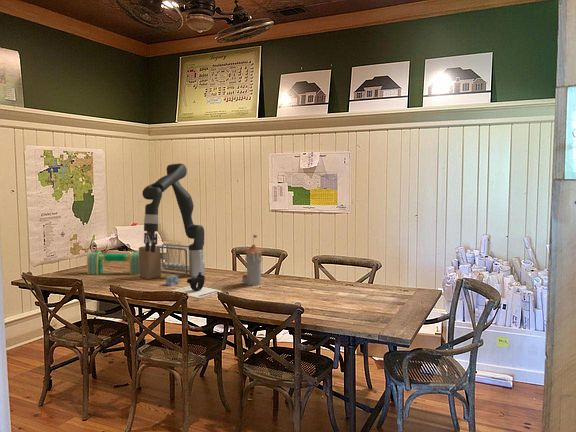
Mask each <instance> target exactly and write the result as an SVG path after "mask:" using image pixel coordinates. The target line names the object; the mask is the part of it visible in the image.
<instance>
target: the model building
mask: <svg viewBox="0 0 576 432" xmlns="http://www.w3.org/2000/svg"><path fill="white" fill-rule="evenodd" d="M257 237H258V235H256V234H253V242H252V243H253V244H252V246H250V247H249V249H247V250H246V251H245V262H246V274H243V275H242V285H247V284H248V286H253V285H254V286H260V285H261V284H262V261H263V256H262V253H263V251H262V250H260V249H259V248H258V247H257V246H256V244H254V243H255V242H254V240H255V239H257Z"/></svg>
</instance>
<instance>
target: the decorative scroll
mask: <svg viewBox="0 0 576 432" xmlns="http://www.w3.org/2000/svg"><path fill="white" fill-rule="evenodd" d="M126 261H129V274H130V275H131V276H132V275H139V274H140V269H139V251H138V252H135V251H131V252H130V254H127V253H105V254H103V252H102V251H97V252H95V251H94V252H93V251H91V250H89V251H88V252H87V255H86V266H87V267H86V268H87V269H86V270H87V275H88V274H89V275H100V274H102V273H104V262H126Z"/></svg>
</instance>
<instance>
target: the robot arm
mask: <svg viewBox="0 0 576 432" xmlns="http://www.w3.org/2000/svg"><path fill="white" fill-rule="evenodd" d="M187 172H188V168H187V167H186V165H185V164H184V163H180V162H179V163H172V164H168V165H167V166H166V174H165V175H164V176H162V177H160V178H159V179H157V180H156V181H155V182H153V183H151V184H148V185H146V186H145V187H144V189H142V194H141V195H142V197H143V198H144V199H145V200H149V201H150V200H151V203H147V204H146V205H145V210H144V219H143V231H144V233H143V234H144V235H143V236H144V237H143V244H144V245H145V251H149V250H150V245H151V252H155V246H158V233H156V232H158V231H159V207H160V204H161V200H162V198H163V193H164V192H165V191H166V190H167V189H168V188H169V187H172V190H173V192H174V195H175V200H176V202H177V205H178V209H179V212H180V215H181V218H182V222H183V227H184V232H185V235H186V237H187V238H188V239H190V240H191V239H192V240H193V243H191V244H189V245H188V246H189V249H188V270H189V272H188V274H189V277H191V278H193V277H195V276H198V275H199V273H198V272H202V273H201V274H202V275H203V276H205V275H206V273H205V271H206V270H205V269H206V266H205V265H206V264H205V259H204V246H205V228H204V226H202V225H199V224H195V223H194V222H193V217H192V215H193V211H194V207H195V206H194V201H193V198H192V195H190V192H189V191H187V190H186V189H185V188H184V186H182V184H181V183H180V180H182V179H183V178H185V177H186V176H187Z"/></svg>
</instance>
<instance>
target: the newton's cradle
mask: <svg viewBox="0 0 576 432" xmlns="http://www.w3.org/2000/svg"><path fill="white" fill-rule="evenodd" d="M157 246H159V247H160V249H161V273H163V274H164V273H166V274H173V275H182V276H186V275H188V274H189V269H188V250H189V245H180V244H172V243H171V244H168V243H163V244H159V245H158V244H157ZM164 249H166V253H164V252H165V251H164ZM168 250H170V251H173V250H179V252H182V251H184V253H183V255H184V260H182V261H181V262H182V263H180V262H177V263H175V262H176V261H175V259H172V261H173V263H172V262H171V258H172V257H173V256H174V255H177V251H174V252H175V254H174V255H173V253H171V257H170V258H169V255H168ZM165 254H166V255H165ZM164 255H165V256H167V257H168V258H167V259H169V261H168V262H167V261H166V258H164ZM180 256H181V258H182V255H179V257H176V258H177V261H179V260H180ZM178 259H179V260H178ZM184 261H185V263H184ZM169 269H171V270H172V271H167V270H169ZM178 270H179V272H177V271H178ZM175 271H176V272H175Z"/></svg>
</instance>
